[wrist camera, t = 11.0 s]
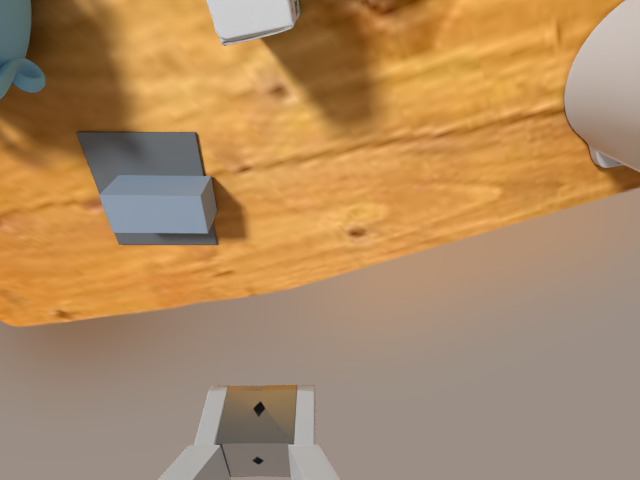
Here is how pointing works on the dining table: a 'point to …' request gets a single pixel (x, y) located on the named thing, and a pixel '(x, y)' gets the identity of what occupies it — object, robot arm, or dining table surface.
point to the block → (160, 204)
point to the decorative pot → (17, 48)
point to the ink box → (252, 18)
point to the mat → (145, 170)
